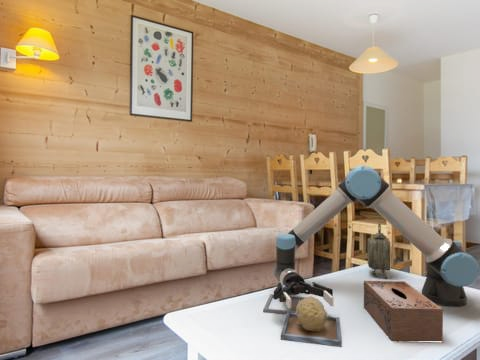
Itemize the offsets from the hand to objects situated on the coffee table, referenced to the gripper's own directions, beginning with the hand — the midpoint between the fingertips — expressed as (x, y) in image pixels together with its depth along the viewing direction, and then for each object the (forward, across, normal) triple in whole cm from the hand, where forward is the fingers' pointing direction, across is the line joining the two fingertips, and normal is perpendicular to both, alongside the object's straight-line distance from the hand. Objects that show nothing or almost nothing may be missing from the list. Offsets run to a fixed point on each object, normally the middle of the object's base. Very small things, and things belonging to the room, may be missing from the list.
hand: (311, 302), depth 108 cm
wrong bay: (-20, +2, -8) cm, 22 cm away
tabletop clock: (-53, -52, -9) cm, 74 cm away
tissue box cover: (-2, -30, -9) cm, 31 cm away
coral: (0, 0, -8) cm, 8 cm away
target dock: (0, 0, -8) cm, 9 cm away
